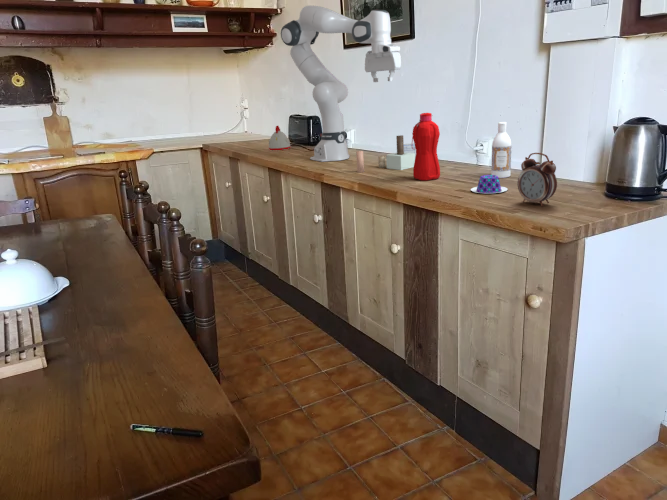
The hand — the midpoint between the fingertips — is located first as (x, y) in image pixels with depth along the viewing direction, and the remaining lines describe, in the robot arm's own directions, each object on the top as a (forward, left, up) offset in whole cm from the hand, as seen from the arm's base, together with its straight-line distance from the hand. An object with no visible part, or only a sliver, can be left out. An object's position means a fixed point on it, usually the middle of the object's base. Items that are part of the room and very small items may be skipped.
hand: (382, 81), depth 233 cm
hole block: (+14, -5, -37) cm, 40 cm away
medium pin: (+6, -21, -37) cm, 43 cm away
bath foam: (+64, -2, -37) cm, 74 cm away
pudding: (+75, -25, -38) cm, 87 cm away
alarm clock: (+97, -33, -37) cm, 109 cm away
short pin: (+6, -8, -37) cm, 39 cm away
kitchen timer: (-108, +10, -37) cm, 115 cm away
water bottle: (+42, -20, -37) cm, 60 cm away
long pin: (+14, -5, -37) cm, 40 cm away
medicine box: (+8, +6, -37) cm, 39 cm away
